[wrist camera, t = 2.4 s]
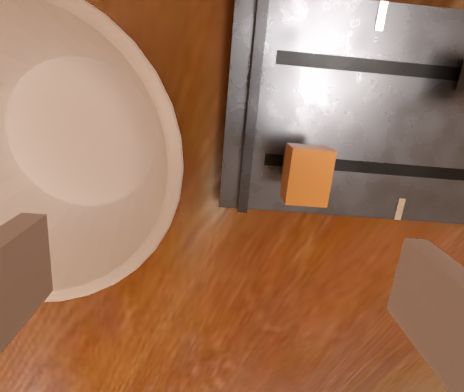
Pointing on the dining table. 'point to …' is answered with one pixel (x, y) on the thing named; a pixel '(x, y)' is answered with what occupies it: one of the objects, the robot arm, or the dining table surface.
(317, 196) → the orange fader
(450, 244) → the dining table surface
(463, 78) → the block
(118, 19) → the dining table surface
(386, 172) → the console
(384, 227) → the dining table surface
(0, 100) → the bowl
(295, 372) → the dining table surface
